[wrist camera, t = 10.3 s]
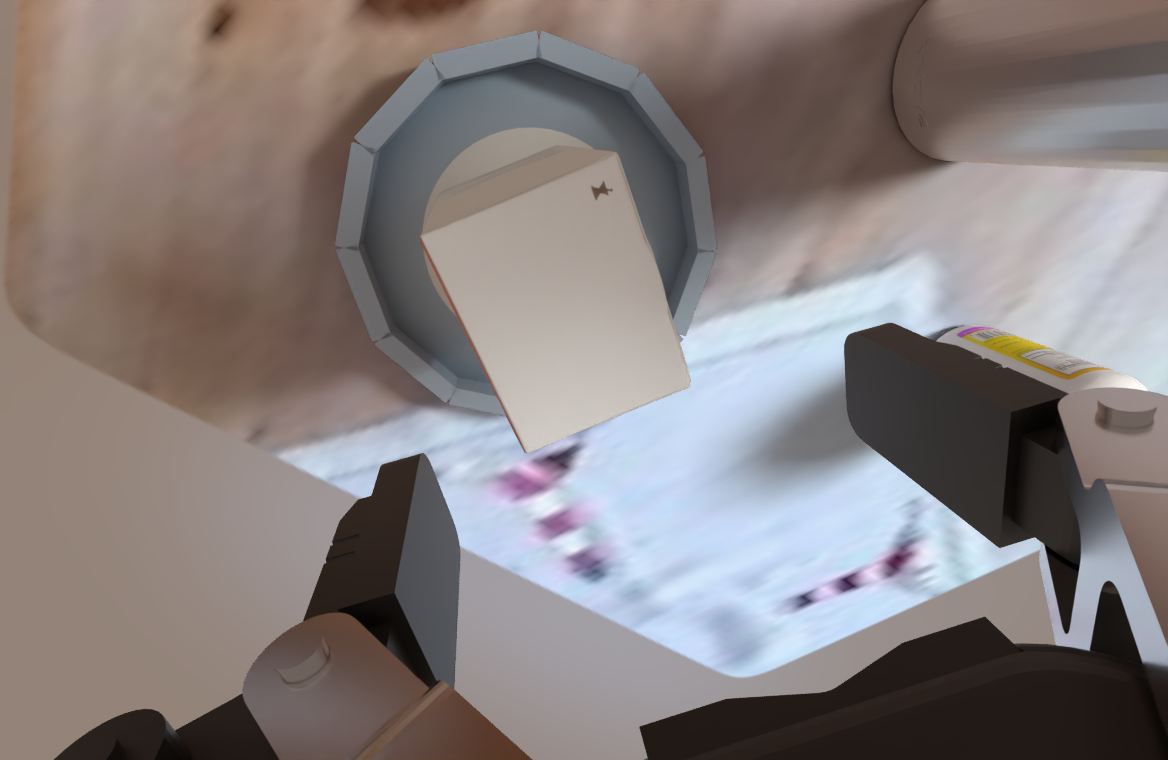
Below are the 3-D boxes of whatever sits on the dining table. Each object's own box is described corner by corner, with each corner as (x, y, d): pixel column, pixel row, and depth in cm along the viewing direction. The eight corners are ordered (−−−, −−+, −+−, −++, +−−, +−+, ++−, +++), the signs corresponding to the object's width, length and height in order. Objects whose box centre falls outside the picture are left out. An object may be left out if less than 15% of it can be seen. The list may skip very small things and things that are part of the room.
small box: (436, 192, 28) (412, 231, 16) (558, 141, 28) (622, 144, 16) (504, 339, 31) (525, 460, 20) (612, 293, 32) (698, 386, 20)
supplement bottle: (933, 433, 40) (1121, 552, 29) (891, 369, 38) (1080, 472, 26) (1014, 369, 40) (1242, 465, 28) (977, 300, 37) (1211, 374, 25)
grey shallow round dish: (667, 7, 28) (685, -5, 26) (715, 351, 35) (731, 365, 33) (288, 95, 26) (271, 91, 24) (420, 434, 34) (417, 455, 31)
